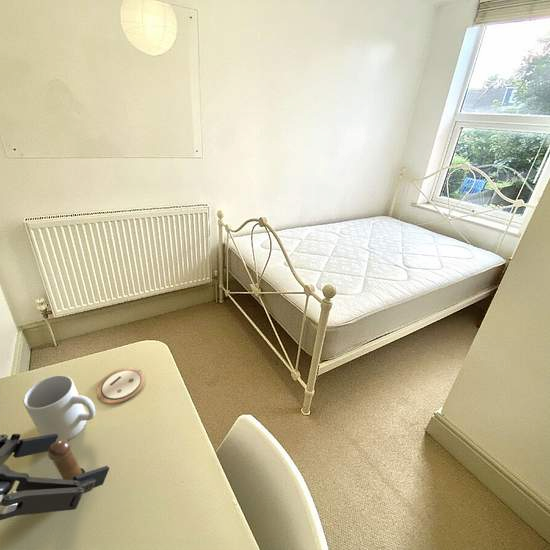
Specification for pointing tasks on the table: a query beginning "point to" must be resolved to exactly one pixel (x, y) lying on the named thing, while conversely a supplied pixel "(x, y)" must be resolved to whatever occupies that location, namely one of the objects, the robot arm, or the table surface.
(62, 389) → the mug
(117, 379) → the face mat
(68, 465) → the stamp
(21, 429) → the table surface
